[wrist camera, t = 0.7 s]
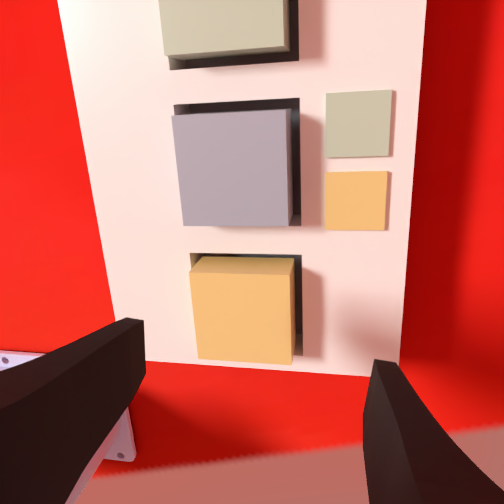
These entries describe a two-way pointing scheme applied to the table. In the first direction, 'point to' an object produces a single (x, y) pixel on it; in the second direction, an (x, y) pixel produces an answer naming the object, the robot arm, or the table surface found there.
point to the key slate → (235, 167)
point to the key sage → (224, 27)
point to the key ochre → (244, 309)
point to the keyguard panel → (303, 167)
